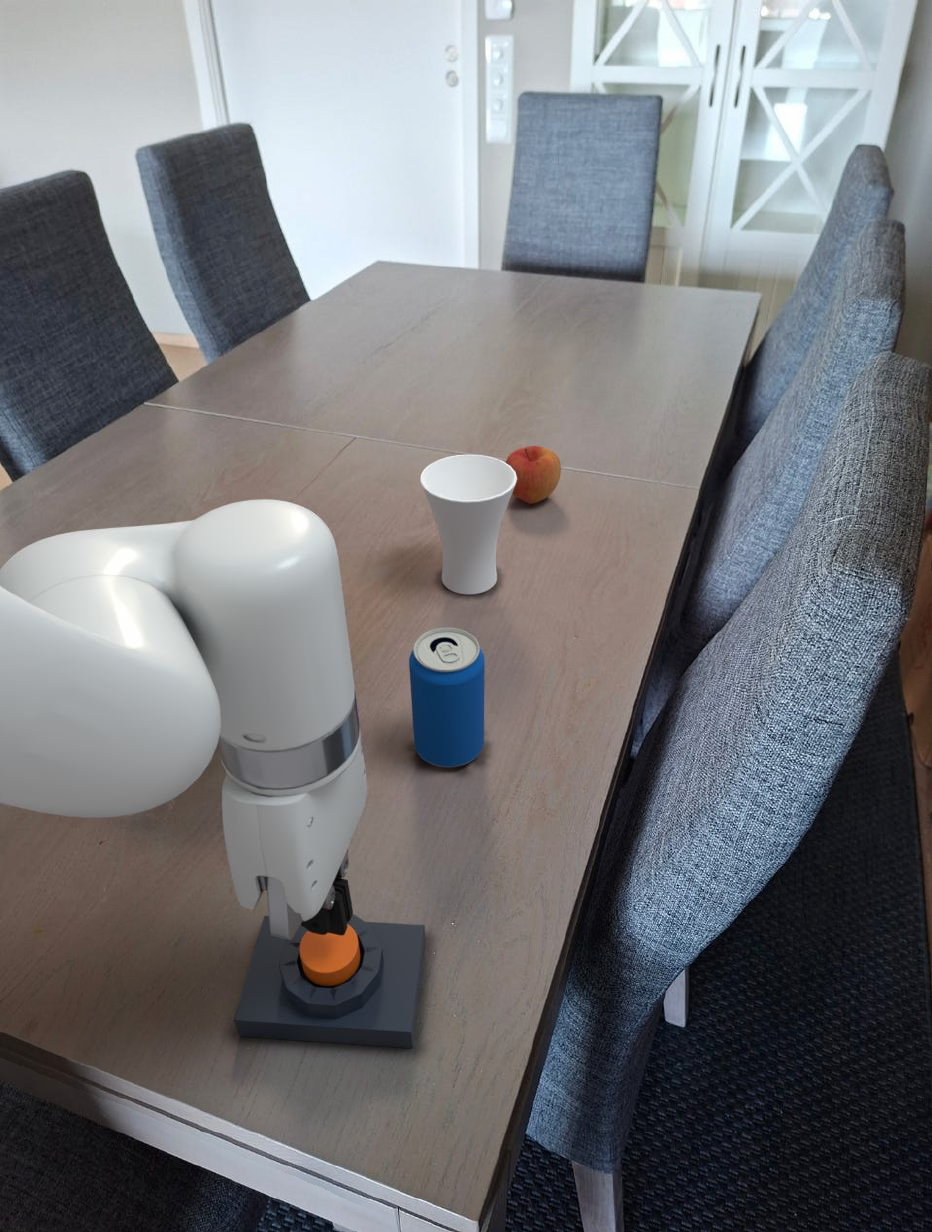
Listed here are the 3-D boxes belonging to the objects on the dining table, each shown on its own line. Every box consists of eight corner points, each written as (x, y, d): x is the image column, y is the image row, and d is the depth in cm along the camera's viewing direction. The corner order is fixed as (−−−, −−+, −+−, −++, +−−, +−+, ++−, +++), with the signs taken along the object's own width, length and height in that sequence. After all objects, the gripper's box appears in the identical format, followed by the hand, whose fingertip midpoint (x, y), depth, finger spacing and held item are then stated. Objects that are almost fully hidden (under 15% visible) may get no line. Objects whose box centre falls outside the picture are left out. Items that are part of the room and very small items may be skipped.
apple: (569, 496, 117) (573, 442, 112) (537, 518, 113) (540, 463, 108) (525, 479, 121) (527, 426, 116) (493, 500, 117) (493, 446, 112)
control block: (239, 1036, 60) (229, 1006, 57) (268, 932, 66) (260, 900, 64) (412, 1048, 59) (410, 1018, 57) (425, 941, 66) (423, 910, 63)
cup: (530, 571, 104) (534, 469, 95) (483, 616, 97) (483, 511, 88) (457, 545, 108) (455, 445, 100) (407, 586, 101) (400, 484, 93)
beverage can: (468, 715, 85) (468, 617, 77) (494, 761, 80) (496, 662, 72) (405, 732, 83) (398, 634, 75) (427, 781, 78) (422, 681, 71)
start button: (296, 984, 59) (293, 971, 58) (309, 931, 62) (306, 917, 61) (355, 988, 59) (352, 974, 58) (364, 935, 62) (362, 921, 61)
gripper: (279, 628, 53) (316, 822, 64) (152, 820, 42) (223, 1014, 53) (397, 646, 51) (413, 842, 63) (298, 850, 40) (340, 1044, 51)
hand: (326, 920), depth 58 cm, fingers closed
